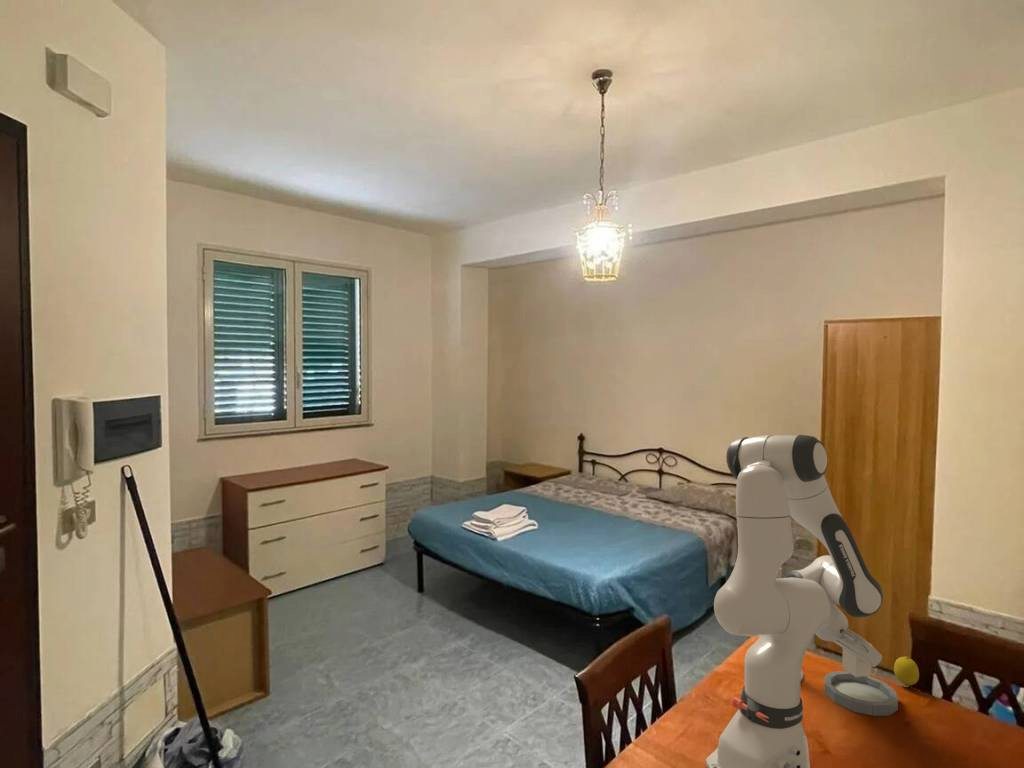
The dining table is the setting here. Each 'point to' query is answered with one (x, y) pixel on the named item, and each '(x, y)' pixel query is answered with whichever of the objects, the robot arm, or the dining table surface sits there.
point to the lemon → (906, 671)
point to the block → (854, 665)
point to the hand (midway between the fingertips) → (858, 654)
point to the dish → (861, 693)
